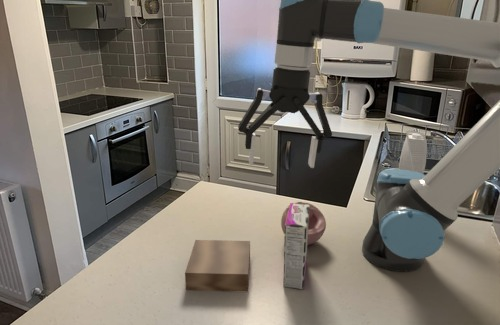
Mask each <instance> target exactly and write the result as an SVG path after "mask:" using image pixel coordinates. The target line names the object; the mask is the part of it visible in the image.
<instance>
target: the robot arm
mask: <svg viewBox="0 0 500 325" xmlns="http://www.w3.org/2000/svg"><path fill="white" fill-rule="evenodd" d="M278 10H279V12H278V21H277V22H278V24H277V34H276V44H275V54H274V64H275V65H276V66H274V68H273V75H272V83H271V88H270V89H269V90H267V89H262V88H261V87H257V89H256V91H255V96H254V99H253V101H252V102H251V104H250V105H249V107H248V109H247V111H245V114H244V115H243V117H242V118H241V120H240V122H239V124H238V126H237V127H238V132H240V133H244V134H245V140H244V141H245V142H244V146H245V149H246V150H249V151H248V152H249V155H248V164H249V165H250V166H252V165H254V159H255V158H254V157H255V148H256V147H255V146H256V138H257V137H256V133H255V132H256V131H257V130H258V129H259V128H261V126H262V125H263V124H264V123H265V122H266V121H267V120H268V119H270V117H271V116H272V115H274V114H275V113H276V112H279V113H284V114H285V113H290V114H296V113H298V112H299V113H300V114H301V116H302V117H303V119H304V120H305V121H306V123H307V125H308V126H309V127H310V129H311V131H312V132H313V133H314V136H313V135H312V136H311V141H310V147H309V154H308V160H307V161H308V162H307V165H308V167H310V169H314V168H315V162H316V157H317V154H318V153H319V154H320V153H321V151H322V144H323V141H324V140H325V138H331V137H332V136H333V132H332V130H331V126H330V123H329V120H328V118H327V115H326V111H325V108H324V106H323V98H324V96H323V94H322V93H321V92H319V91H315V92H311V93H310V92H309V86H310V78H311V71H310V69H309V68H310V67H312V65H313V64H312V62H313V56H314V55H313V54H314V48H315V47H314V46H315V39H320V40H332V41H340V42H341V41H342V42H348V43H349V42H350V43H351V42H352V43H357V44H374V45H376V44H377V45H381V46H388V47H394V48H400V49H401V48H402V49H408V50H414V51H420V52H425V53H426V52H428V53H434V54H439V55H446V56H447V55H448V56H453V57H459V58H466V59H471V60H472V59H473V60H480V61H485V62H490V63H491V64H492V66H493V67H495V68H497V69H500V22H495V21H488V20H479V19H473V18H464V17H456V16H450V15H441V14H434V13H428V12H427V13H425V12H418V11H412V10H404V9H397V8H390V7H385V6H384V4H383V2H381V1H377V0H376V1H375V0H280V5H279V8H278ZM267 97H269V99H270V101H271V102H270V103H269V105H267V107H266V108H265V110H264V111H262V112H261V113H260V114H259V115H258V116H257V117H256V118H255V119H254V120H253V121H252V122H251V120H252V118H253V117H254V115H255V113H257V110H258V109H259V107H260V105H261V103H262V101H264V100H266V98H267ZM309 100H310V101H311V102H312V104H314V109H315V110H316V114H317V116H318V119H319V123H320V125H321V129H322V130H321V129H320V128H319V127H318V125H317V124H316V122H315V121H314V120H313V117H311V115H310V113H309V112H308V110H307V109H306V107H305V105H306V103H308V101H309ZM250 122H251V123H250ZM249 123H250V124H249ZM499 169H500V99H499V100H498V101H497V102H496V103H495V104H494V105H493V106H492V107H491V108H490V109H488V111H487V113H485V114H484V115H483V116H482V117H481V118H480V119H479V120H478V121H477V123H475V124H474V125H473V126H472V127H471V128H470V130H468V131H467V133H466V134H465V135H464V136H463V137H462V138H461V139H460V140H459V141H458V142H457V143H455V144H454V146H453V147H452V148H451V149H450V150H449V151H448V152H447V153H446V154H445V155H444V156H443V157H442V158H441V159H440V160H439V161H438V162H437V163H436V164H435V165H434V166H433V167H432V168H431V169H430V170H429V171H428V172H427V173H426V174H424V173H423V174H422V173H419V172H415V171H409V170H401V169H399V168H391V169H390V168H389V169H384V170H382V171H380V172H379V174H378V177H377V180H376V185H377V186H376V192H375V200H374V207H373V214H372V223H371V225H370V228H369V229H368V231H367V233H366V235H365V236H364V238H363V240H362V241H363V242H362V245H361V252H362V255H363V256H364V257H365V259H367V261H369V262H370V263H372V264H373V265H375V266H378V267H379V268H383V269H385V270H389V271H394V272H410V271H412V272H413V271H415V270H417V269H419V268H421V266H422V265H423V264H424V259H425V258H429V257H431V256H432V255H435V253H437V252H438V251H439V250H440V249H441V248H442V246H443V243H444V240H445V231H446V230H447V229H448V228H449V227H450V226H452V224H453V223H454V222H456V221H457V219H458V217H459V216H458V208H459V207H460V206H461V205H462V204H463V203H464V202H465V201H466V200H467V199H468V198H469V197H470V196H471V195H472V194H473V193H475V192H476V191H477V190H478V189H479V188H480V187H481V186H482V185H483V184H484V183H485V182H486V181H487V180H488V179H490V178H491V177H492V176H493V175H494V174H495V173H496V172H497V171H498V170H499Z"/></svg>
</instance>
